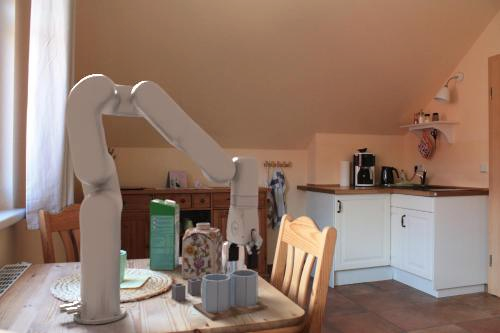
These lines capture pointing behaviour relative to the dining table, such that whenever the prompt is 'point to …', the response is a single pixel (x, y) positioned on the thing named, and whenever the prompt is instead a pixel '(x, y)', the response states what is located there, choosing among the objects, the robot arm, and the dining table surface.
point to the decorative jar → (201, 251)
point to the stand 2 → (194, 286)
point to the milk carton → (164, 235)
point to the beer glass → (233, 265)
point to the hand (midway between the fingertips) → (242, 264)
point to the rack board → (230, 310)
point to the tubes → (229, 290)
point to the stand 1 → (178, 292)
